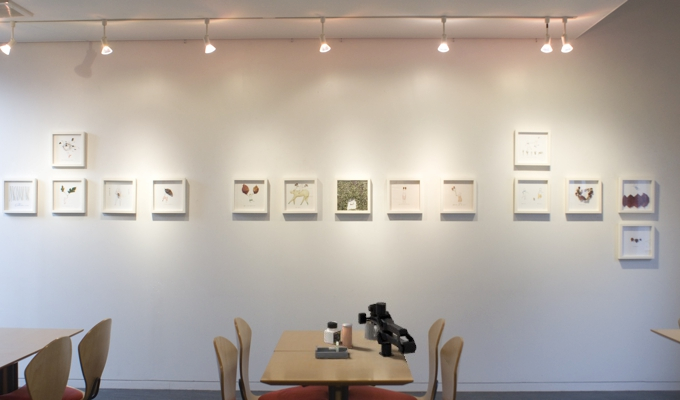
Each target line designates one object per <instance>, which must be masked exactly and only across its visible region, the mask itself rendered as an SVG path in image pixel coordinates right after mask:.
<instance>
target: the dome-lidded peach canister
mask: <svg viewBox="0 0 680 400" xmlns="http://www.w3.org/2000/svg"><path fill="white" fill-rule="evenodd" d="M341 326H342V330H341V331H342V334H341V335H342V337H341V339H342V341H341V342H342V346H341V347H347V349H351V348H353V323H351V322H344V323H342V325H341Z"/></svg>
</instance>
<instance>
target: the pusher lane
mask: <svg viewBox="0 0 680 400" xmlns="http://www.w3.org/2000/svg"><path fill="white" fill-rule="evenodd" d="M314 350H315V353H314V354H315V355H314V357H315V359H348V358H349V352H348V348H347V347H342V346H339V352H336V350H329V346H325V347H324V346H320V347H319V346H318V345H315V349H314Z"/></svg>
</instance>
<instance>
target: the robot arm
mask: <svg viewBox="0 0 680 400" xmlns="http://www.w3.org/2000/svg"><path fill="white" fill-rule="evenodd" d="M367 310H368V312H369V316H367V314H366V312H358V315H357V317H358V318H357V319H358V321H357V324H359V325H365V324H366V321H371V324H373V323H374V325H378V326H379V327H380V329H379V330H378V332H377V341H376V342H377V344H378V345H380V351H379V352H378V354H379V355H381V356H382V357H385V358H386V357H393V356H395V354H394V353H393V349H392V348H393V347H392V346H394V347H396V348H397V349H398V350H397V351H398V352H399V353H400V354H401V355H408V354H409V355H410V354H415V353H416V351H417V343H416V342H415V339H414V337H413V336H412V335H411V334H410V333H409V332H408V329H407V328H404V327H402V326H401V325H398V324H396V323H395V321H394V320H393V317H392V315H391V314H390V312H389V311H388V310H387V302H384V301H383V302H382V301H378V302H376V303H372V304H369V305H368V306H367ZM401 337H405V339H407V340H405V339H403V338H401Z"/></svg>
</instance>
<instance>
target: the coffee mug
mask: <svg viewBox="0 0 680 400" xmlns="http://www.w3.org/2000/svg"><path fill="white" fill-rule="evenodd" d="M379 329H380V327H379V326H378V325H374V323H373V324H371V321H366V324H364V339H366V340H367V341H368V340H370V341H376V340H377V332H378V330H379Z"/></svg>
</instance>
